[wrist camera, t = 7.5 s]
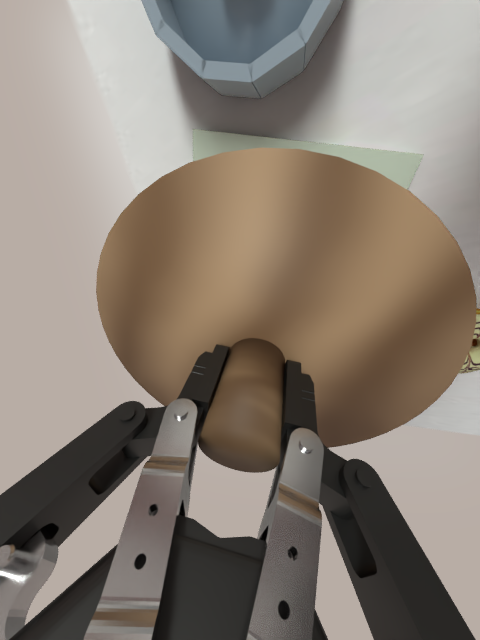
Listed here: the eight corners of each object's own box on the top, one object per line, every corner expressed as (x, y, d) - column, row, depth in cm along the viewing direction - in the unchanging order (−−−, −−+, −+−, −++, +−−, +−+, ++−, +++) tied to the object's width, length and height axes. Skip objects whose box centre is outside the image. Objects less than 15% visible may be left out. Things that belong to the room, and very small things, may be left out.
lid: (622, 188, 7) (1373, 252, 2) (357, 461, 18) (379, 566, 13) (52, 120, 9) (-231, 74, 4) (137, 404, 20) (88, 478, 15)
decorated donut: (489, 360, 34) (508, 379, 31) (408, 359, 37) (417, 377, 34) (523, 301, 29) (550, 318, 26) (424, 306, 32) (438, 321, 29)
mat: (420, 154, 23) (423, 154, 22) (341, 325, 36) (342, 328, 35) (195, 129, 25) (192, 129, 25) (198, 297, 38) (196, 299, 38)
